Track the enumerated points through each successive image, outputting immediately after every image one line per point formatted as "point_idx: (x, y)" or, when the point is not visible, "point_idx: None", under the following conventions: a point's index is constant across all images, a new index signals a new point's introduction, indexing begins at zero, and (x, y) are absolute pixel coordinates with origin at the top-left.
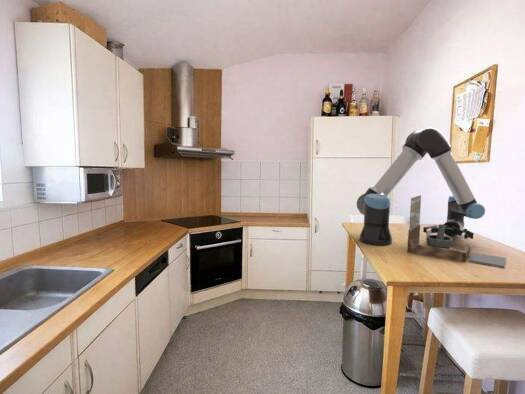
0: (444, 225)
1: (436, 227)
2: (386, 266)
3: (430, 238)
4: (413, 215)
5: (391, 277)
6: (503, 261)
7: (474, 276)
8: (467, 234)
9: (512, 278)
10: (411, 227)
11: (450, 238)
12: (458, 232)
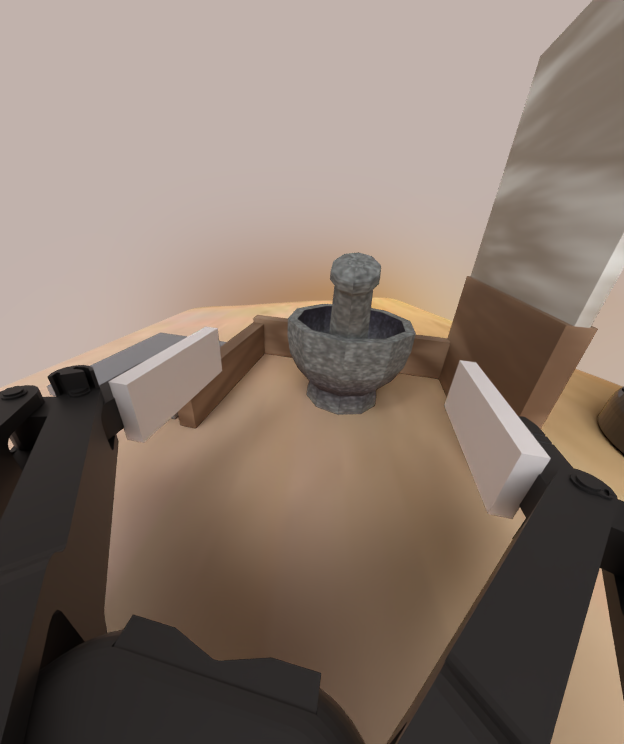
0: (339, 258)
1: (564, 658)
2: (421, 314)
3: (383, 311)
4: (512, 193)
5: (391, 299)
6: (120, 354)
7: (268, 310)
8: (104, 386)
9: (194, 313)
10: (477, 266)
11: (297, 320)
12: (92, 524)
